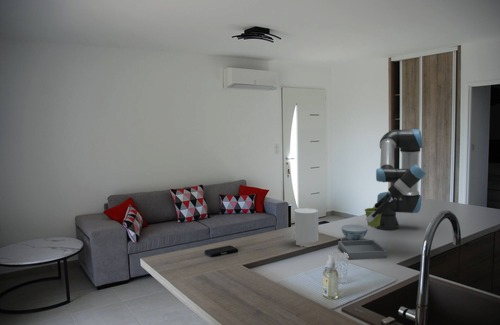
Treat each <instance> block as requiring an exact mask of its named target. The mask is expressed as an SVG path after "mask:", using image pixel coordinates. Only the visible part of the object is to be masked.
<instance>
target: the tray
mask: <svg viewBox="0 0 500 325" xmlns="http://www.w3.org/2000/svg"><path fill="white" fill-rule="evenodd" d="M337 244H338V249H339V250H340V249H341V250H342V251H341V250H340V251H341V252H342V253H343V252H345V253H347V254H348V256H349V260H364V259H365V260H366V259H368V260H369V259H387V258H388V251H387V249H385V248H384V247H383V246H382V245H380V244H379V243H378V242H376V240H374V239H361V240H354V241H349V240H338V243H337Z"/></svg>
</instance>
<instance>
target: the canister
mask: <svg viewBox="0 0 500 325" xmlns="http://www.w3.org/2000/svg"><path fill="white" fill-rule="evenodd" d="M294 239H295V240H296V241H298V242H307V243H308V242H316V241H318V240H319V210H318V208H317V209H316V208H314V207H299V208H296V209H294ZM295 240H294V241H295Z"/></svg>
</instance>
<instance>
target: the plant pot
mask: <svg viewBox="0 0 500 325" xmlns="http://www.w3.org/2000/svg"><path fill="white" fill-rule="evenodd" d="M375 209H377V208H373V207H368V208H364V212H365V214H366V215H365V216H366V218H367V217H368V216H369V215H370V214H371V213H373V212H374V211H375ZM381 214H382V213H381ZM381 214H379V215H378V216H376V217H375V218H374V219H373V220H372V221H371V222H369V221H367V220H366V221H367V226H368V227H371V228H375V227H377V226H380V219H381Z"/></svg>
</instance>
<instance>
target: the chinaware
mask: <svg viewBox="0 0 500 325" xmlns="http://www.w3.org/2000/svg"><path fill="white" fill-rule="evenodd" d="M368 229H369V228H368V227H367V226H364V225H361V224H345V225H342V226H341V232H342V234H343V235H344V237H345V238H346V239H347V240H348V241H354V240H363V239H364V237H365V236H366V235H367V233H368V231H369V230H368Z"/></svg>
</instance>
